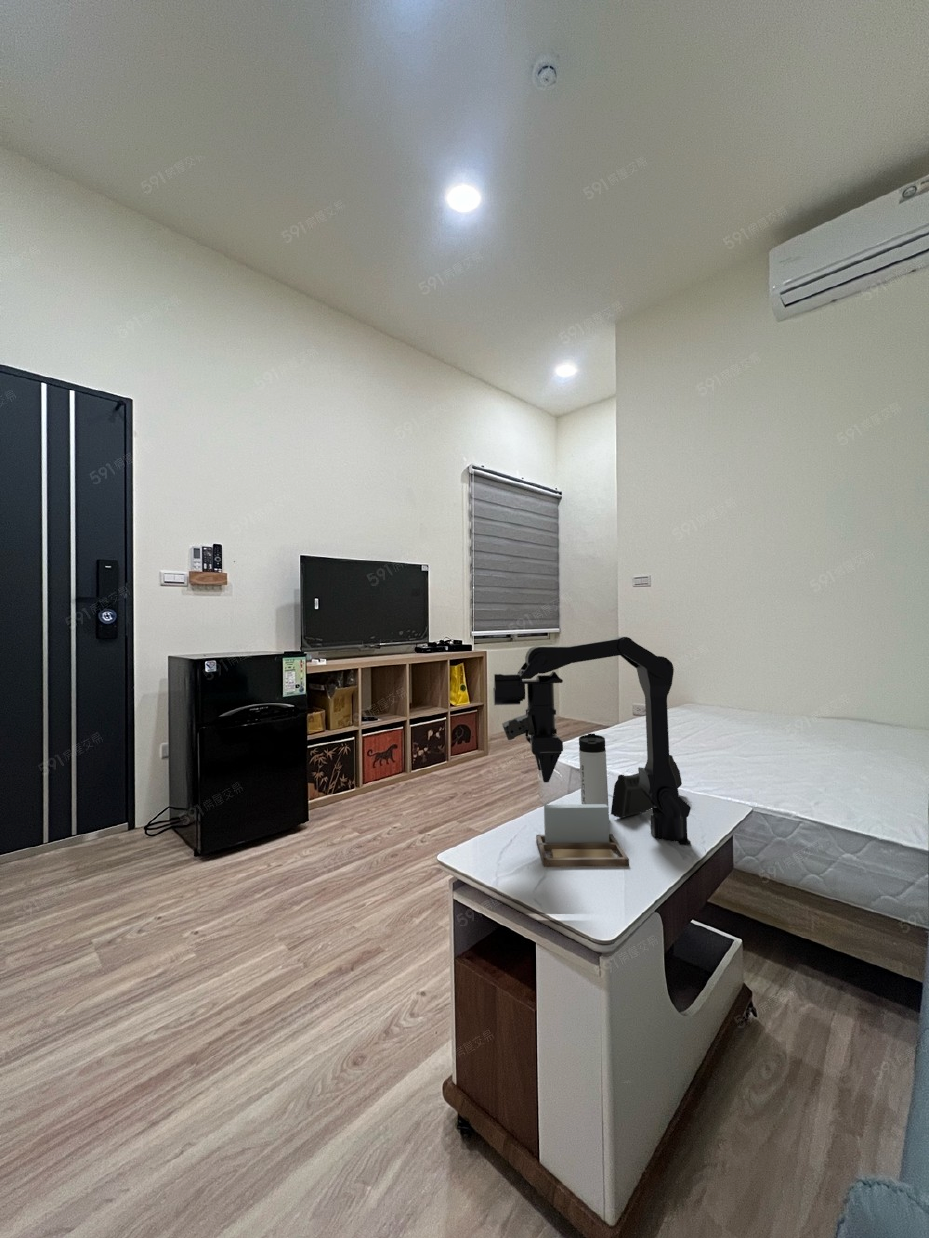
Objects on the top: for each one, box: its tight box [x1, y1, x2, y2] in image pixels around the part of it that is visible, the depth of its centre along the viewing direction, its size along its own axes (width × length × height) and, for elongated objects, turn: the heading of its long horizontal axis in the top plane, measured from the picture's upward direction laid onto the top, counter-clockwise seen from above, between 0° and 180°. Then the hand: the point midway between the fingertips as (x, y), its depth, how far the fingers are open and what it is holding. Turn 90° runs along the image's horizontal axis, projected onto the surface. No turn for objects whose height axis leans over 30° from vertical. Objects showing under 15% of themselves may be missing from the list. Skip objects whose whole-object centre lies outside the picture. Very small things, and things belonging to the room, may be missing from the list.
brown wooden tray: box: [535, 833, 630, 868], centre depth 103 cm, size 16×12×2 cm
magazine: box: [610, 754, 683, 819], centre depth 131 cm, size 17×3×30 cm
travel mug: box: [578, 733, 610, 818], centre depth 123 cm, size 6×7×20 cm
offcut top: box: [550, 849, 616, 858], centre depth 101 cm, size 12×4×1 cm, turn 87°
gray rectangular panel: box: [543, 803, 610, 843], centre depth 106 cm, size 13×2×9 cm, turn 89°
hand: (543, 775), depth 111 cm, fingers open, 9 cm apart
